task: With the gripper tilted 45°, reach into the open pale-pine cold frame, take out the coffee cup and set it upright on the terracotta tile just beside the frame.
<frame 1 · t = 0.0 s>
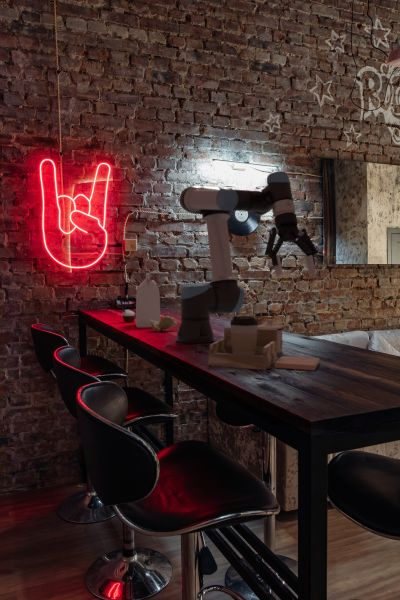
hand: (296, 275, 178), 28 cm above the table, tool tilted 20°, fingers open, 13 cm apart
teacup with lid: (268, 351, 194), on the table
coffee cup: (243, 363, 172), resting in cold frame
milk: (148, 326, 267), on the table
terracotta tile: (297, 365, 168), on the table
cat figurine: (163, 331, 247), on the table
cold frame: (243, 362, 172), on the table
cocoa: (128, 322, 282), on the table
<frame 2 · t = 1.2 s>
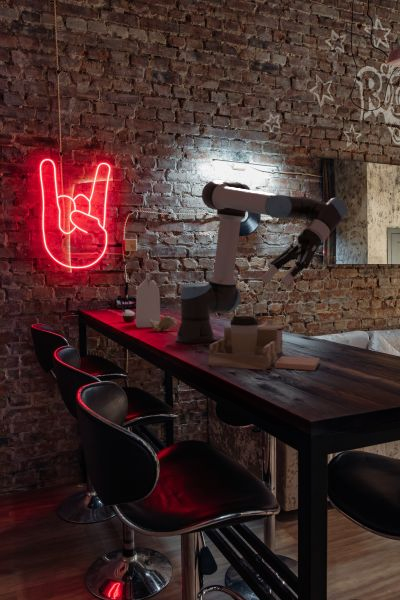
hand: (273, 282, 174), 26 cm above the table, tool tilted 45°, fingers open, 13 cm apart
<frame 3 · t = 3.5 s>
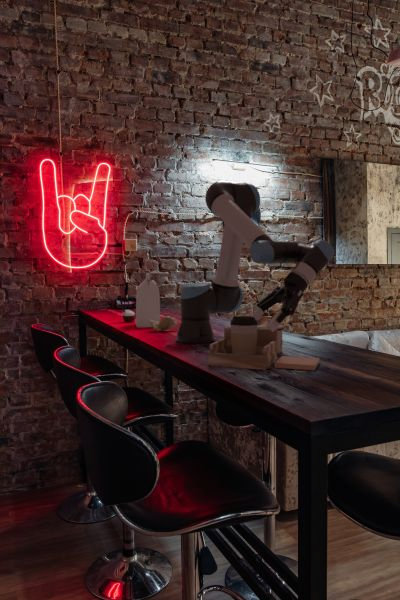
hand: (259, 326, 172), 11 cm above the table, tool tilted 45°, fingers open, 13 cm apart
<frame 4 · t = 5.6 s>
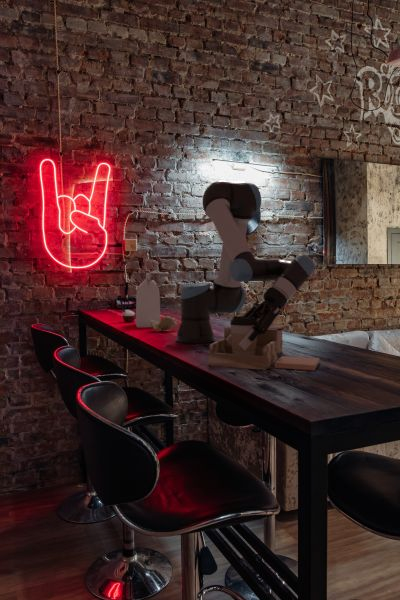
hand: (235, 345, 171), 6 cm above the table, tool tilted 45°, fingers closed on coffee cup, 9 cm apart
coffee cup: (243, 363, 172), resting in cold frame, touching gripper
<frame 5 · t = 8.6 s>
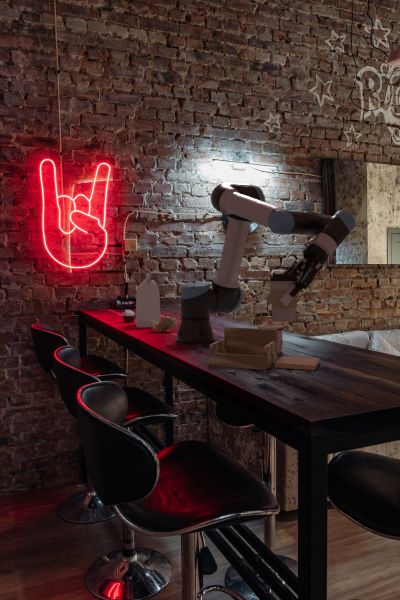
hand: (275, 302, 166), 20 cm above the table, tool tilted 45°, fingers closed on coffee cup, 9 cm apart
coffee cup: (283, 321, 167), point 14 cm above the table, touching gripper
when the fingers open (9 cm above the table, at t = 11.8 s): coffee cup drops 1 cm, resting on terracotta tile.
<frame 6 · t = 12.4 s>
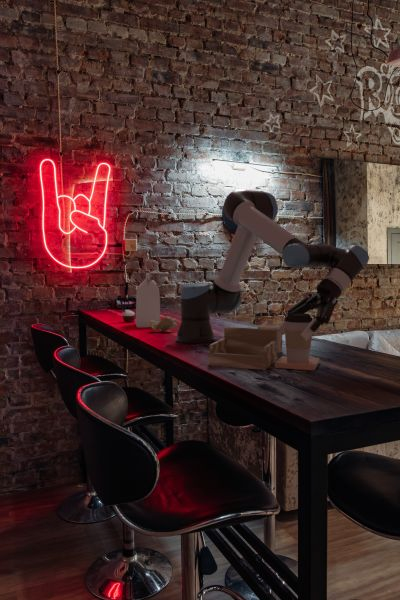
hand: (291, 335, 166), 10 cm above the table, tool tilted 45°, fingers open, 13 cm apart
coffee cup: (297, 361, 168), point 1 cm above the table, touching terracotta tile
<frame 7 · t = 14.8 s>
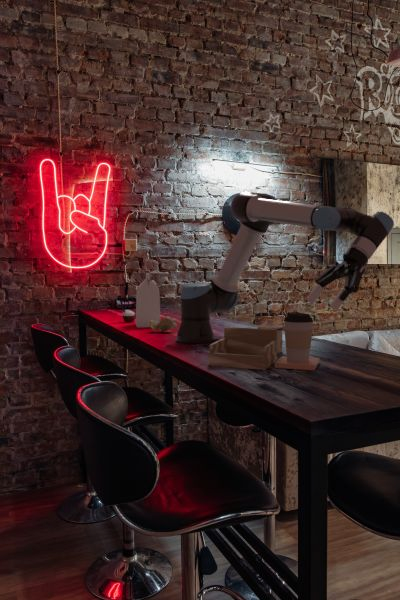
hand: (320, 304, 172), 19 cm above the table, tool tilted 40°, fingers open, 13 cm apart
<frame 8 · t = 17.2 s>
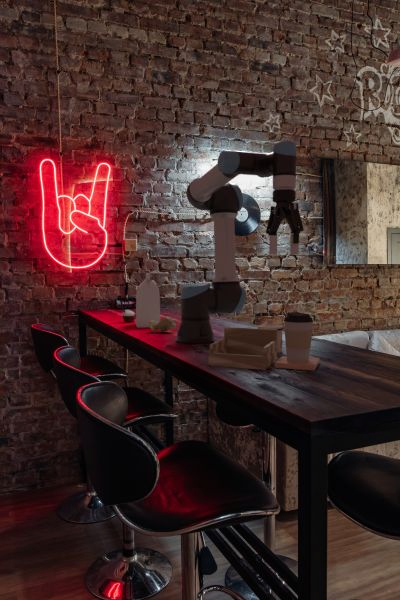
hand: (283, 254, 179), 35 cm above the table, tool pointing down, fingers open, 13 cm apart
at the end: coffee cup inside the target area on the terracotta tile (0.1 cm from its centre), point 1.3 cm above the terracotta tile's base; coffee cup tilted 0°; the gripper is holding nothing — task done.
